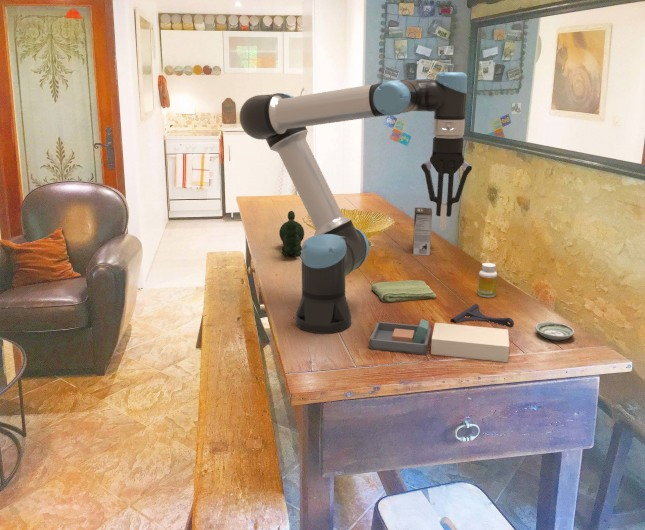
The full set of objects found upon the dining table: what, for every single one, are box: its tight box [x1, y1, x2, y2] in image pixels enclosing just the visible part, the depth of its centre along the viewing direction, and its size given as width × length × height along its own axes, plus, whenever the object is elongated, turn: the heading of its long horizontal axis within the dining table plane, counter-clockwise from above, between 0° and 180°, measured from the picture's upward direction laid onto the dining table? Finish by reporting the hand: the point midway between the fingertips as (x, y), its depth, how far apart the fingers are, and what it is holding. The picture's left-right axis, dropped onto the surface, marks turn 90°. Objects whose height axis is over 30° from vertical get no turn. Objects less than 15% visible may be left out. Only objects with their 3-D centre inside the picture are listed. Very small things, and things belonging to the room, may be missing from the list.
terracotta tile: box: [392, 328, 414, 343], centre depth 160 cm, size 5×5×2 cm
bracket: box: [450, 303, 515, 328], centre depth 174 cm, size 14×15×3 cm
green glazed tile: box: [412, 318, 430, 344], centre depth 158 cm, size 5×5×2 cm
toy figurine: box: [278, 210, 305, 258], centre depth 235 cm, size 9×19×25 cm
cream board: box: [430, 322, 510, 363], centre depth 156 cm, size 18×11×4 cm, turn 76°
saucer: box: [534, 321, 575, 341], centre depth 164 cm, size 10×10×2 cm
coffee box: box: [412, 207, 433, 256], centre depth 237 cm, size 9×6×16 cm
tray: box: [368, 321, 432, 356], centre depth 160 cm, size 14×12×2 cm
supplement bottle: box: [477, 262, 498, 298], centre depth 193 cm, size 5×5×10 cm
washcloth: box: [370, 279, 437, 303], centre depth 194 cm, size 13×18×3 cm
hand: (442, 228), depth 165 cm, fingers closed
